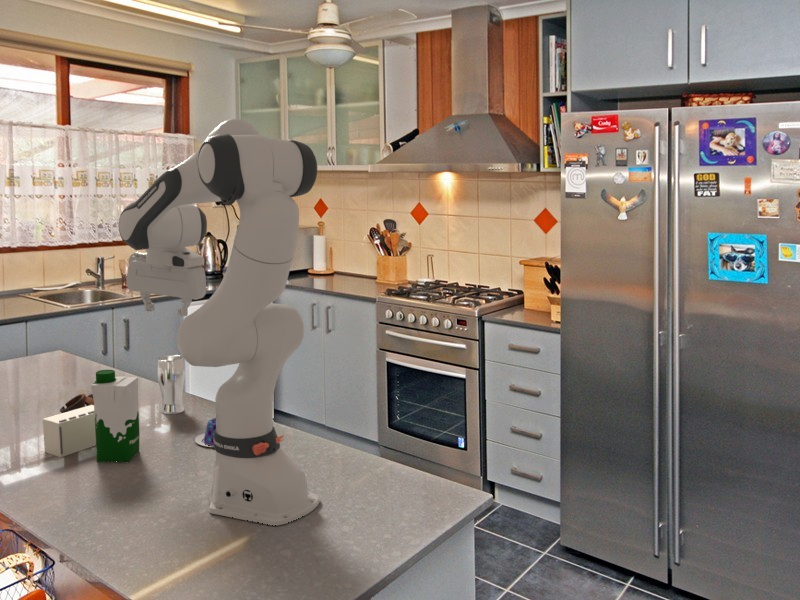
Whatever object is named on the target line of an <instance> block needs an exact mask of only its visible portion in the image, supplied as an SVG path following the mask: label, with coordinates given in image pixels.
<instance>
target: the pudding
mask: <svg viewBox="0 0 800 600" xmlns="http://www.w3.org/2000/svg"><path fill="white" fill-rule="evenodd" d="M215 429H216V417H215V418H212V419H210V420H208V421H207V425H206V429H205V432H203V433H201V434H199V435H197V436H196V437H195V439H194V440H195V443H196V444H197V445H200V446H203V447H207V448H208V447H209V448H214V431H215ZM203 438H204V440H203V443H202V442H201V441H202V439H203ZM205 444H206V445H205ZM209 444H210V446H208V445H209ZM211 445H212V446H211Z"/></svg>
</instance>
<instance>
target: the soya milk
mask: <svg viewBox="0 0 800 600" xmlns="http://www.w3.org/2000/svg"><path fill="white" fill-rule="evenodd" d="M90 388H91V394H93V399H94V414H95V433H96V446H95V448H96V449H95V450H96V462H97V463H122V462H128V463H130V462H131V460H132V459H133V458H135V456H136V455H137V454H138V453H140V435H141V434H140V415H139V411H140V410H139V377H137V376H136V377H135V376H132V377H131V376H126V375H125V376H124V375H123V376H116V372H115V370H114V369H102V370H97V371H96V372H95V381H94V382H92V384H91V385H90ZM116 461H117V462H116Z"/></svg>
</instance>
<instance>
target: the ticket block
mask: <svg viewBox="0 0 800 600" xmlns="http://www.w3.org/2000/svg"><path fill="white" fill-rule="evenodd" d="M42 428H43V429H42V432H43V442H44V443H43V446H44V453H46V454H49V455H53V456H56V457H58V458H63V457H65V456H69V455H72V454H74V453H77V452H78V453H79V452H81V451H83V449H84V450H87V449H89V447H90V448H92V446H93V447H96V446H95V445H96V433H95V414H94V405H90V406H86V405H85V407H82V408H79V409H75V410H72V411H68V412H65V413H61V412H60V413H58V414H55V415H51V416H48V417H45V418H44V417H43V418H42ZM86 448H87V449H86Z"/></svg>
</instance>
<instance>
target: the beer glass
mask: <svg viewBox="0 0 800 600" xmlns="http://www.w3.org/2000/svg"><path fill="white" fill-rule="evenodd" d="M157 359H158V360H157V380H158V386H159V390H160V394H161V405H160V406H161V408H160V413H161V414H163V415H177V414H182V413H183V412H184V411H185V408H184V407H185V406H184V404H183V391H184V386H185V375H186V374H185V362H184V360H185V359H184V358H183V356H182V355H178V354H171V355H170V354H169V355H167V354H166V355H162V356H160V357H158V358H157Z"/></svg>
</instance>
